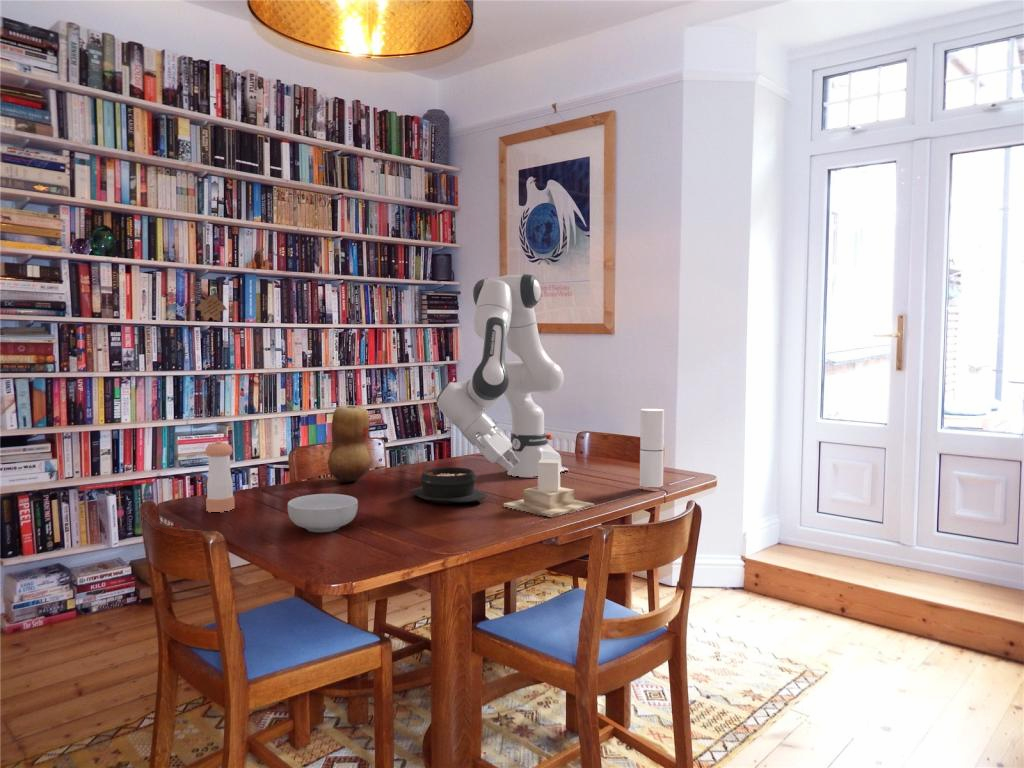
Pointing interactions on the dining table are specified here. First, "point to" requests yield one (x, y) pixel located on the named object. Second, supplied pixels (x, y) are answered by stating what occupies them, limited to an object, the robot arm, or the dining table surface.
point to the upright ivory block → (549, 475)
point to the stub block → (548, 502)
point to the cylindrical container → (651, 447)
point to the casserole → (448, 486)
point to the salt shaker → (219, 478)
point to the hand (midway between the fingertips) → (514, 466)
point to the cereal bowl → (322, 511)
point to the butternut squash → (349, 443)
